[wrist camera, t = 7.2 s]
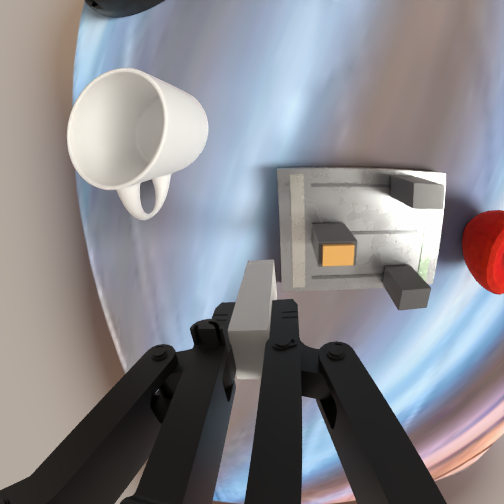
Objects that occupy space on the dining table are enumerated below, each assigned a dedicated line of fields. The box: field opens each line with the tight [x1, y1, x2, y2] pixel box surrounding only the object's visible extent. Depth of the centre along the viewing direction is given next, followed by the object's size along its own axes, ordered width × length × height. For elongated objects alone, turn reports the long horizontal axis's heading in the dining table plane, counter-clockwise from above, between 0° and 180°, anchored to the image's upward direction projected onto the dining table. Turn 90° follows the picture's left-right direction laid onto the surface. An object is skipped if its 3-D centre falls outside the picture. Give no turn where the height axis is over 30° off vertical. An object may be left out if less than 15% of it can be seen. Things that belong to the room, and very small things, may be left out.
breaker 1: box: [390, 175, 445, 210], centre depth 20 cm, size 2×3×5 cm, turn 93°
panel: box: [277, 167, 446, 292], centre depth 26 cm, size 12×17×2 cm
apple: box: [462, 210, 504, 295], centre depth 22 cm, size 9×9×8 cm
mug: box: [67, 68, 208, 220], centre depth 21 cm, size 9×12×11 cm
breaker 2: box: [383, 265, 431, 310], centre depth 23 cm, size 2×3×5 cm, turn 94°
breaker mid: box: [312, 223, 357, 267], centre depth 23 cm, size 2×3×5 cm, turn 94°
